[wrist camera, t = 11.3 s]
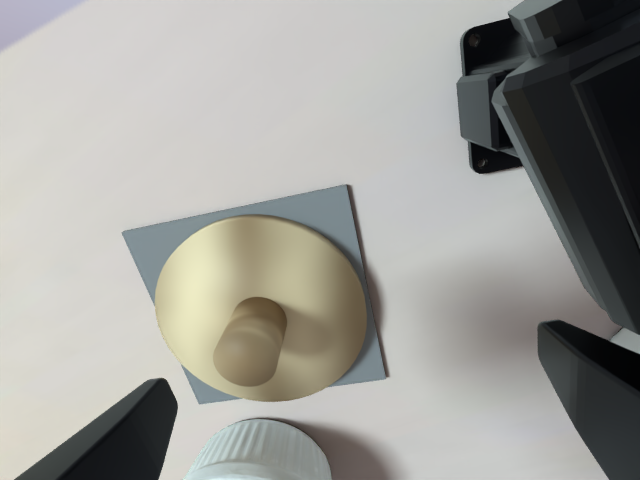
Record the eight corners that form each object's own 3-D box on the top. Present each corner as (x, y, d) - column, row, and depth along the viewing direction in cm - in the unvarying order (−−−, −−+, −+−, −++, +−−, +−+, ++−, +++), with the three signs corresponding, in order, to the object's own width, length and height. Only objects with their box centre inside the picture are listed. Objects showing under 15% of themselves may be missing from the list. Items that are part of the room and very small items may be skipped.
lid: (342, 192, 19) (341, 220, 15) (381, 375, 23) (390, 437, 19) (129, 237, 21) (76, 274, 17) (203, 401, 25) (175, 462, 21)
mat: (346, 184, 19) (346, 185, 19) (385, 375, 24) (385, 379, 24) (124, 230, 21) (121, 232, 21) (200, 401, 26) (198, 404, 25)
